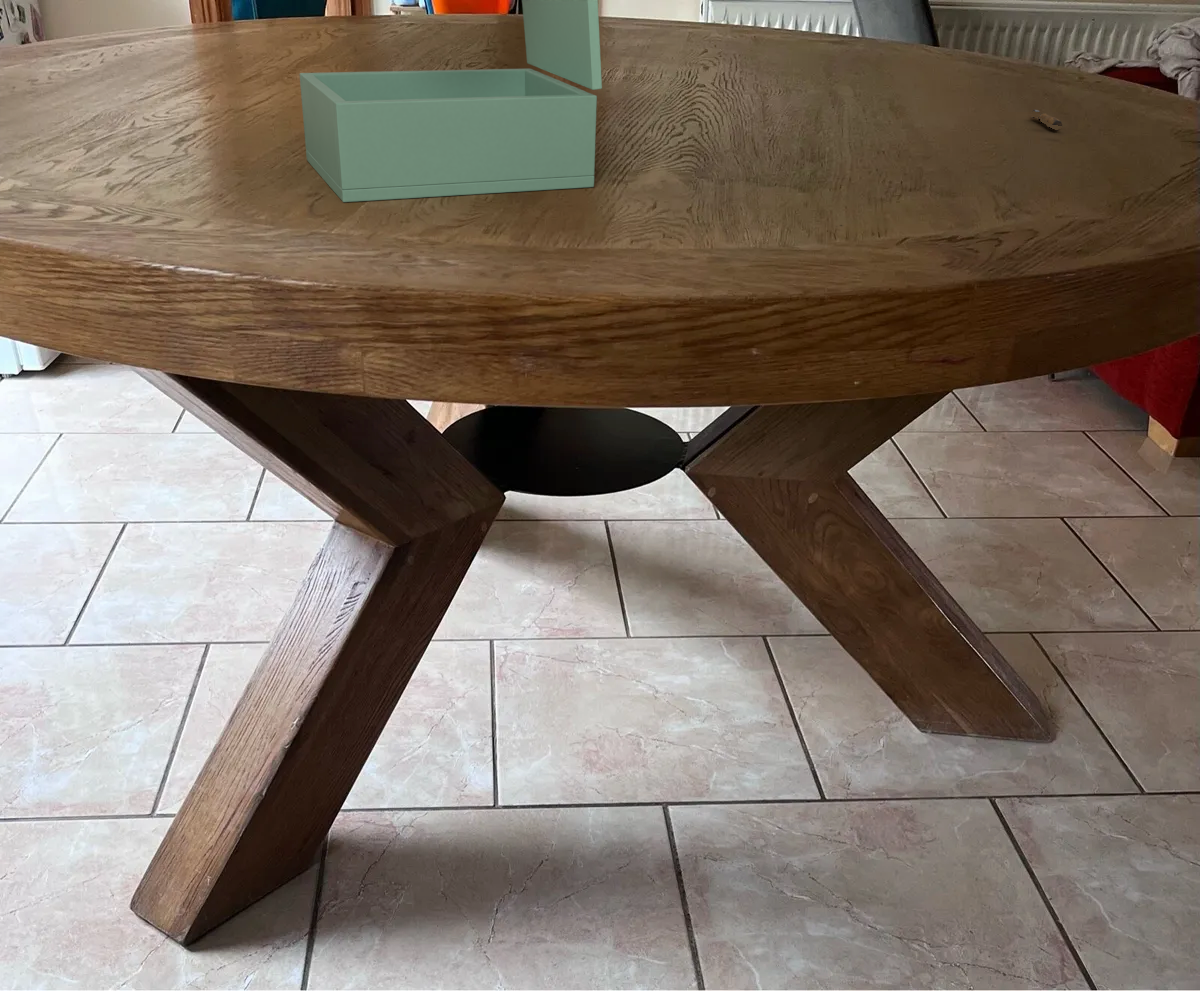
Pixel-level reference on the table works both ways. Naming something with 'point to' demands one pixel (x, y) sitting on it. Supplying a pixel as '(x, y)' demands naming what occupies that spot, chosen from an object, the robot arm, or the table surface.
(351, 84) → the chest
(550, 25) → the chest lid
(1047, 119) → the can opener
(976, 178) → the table surface
